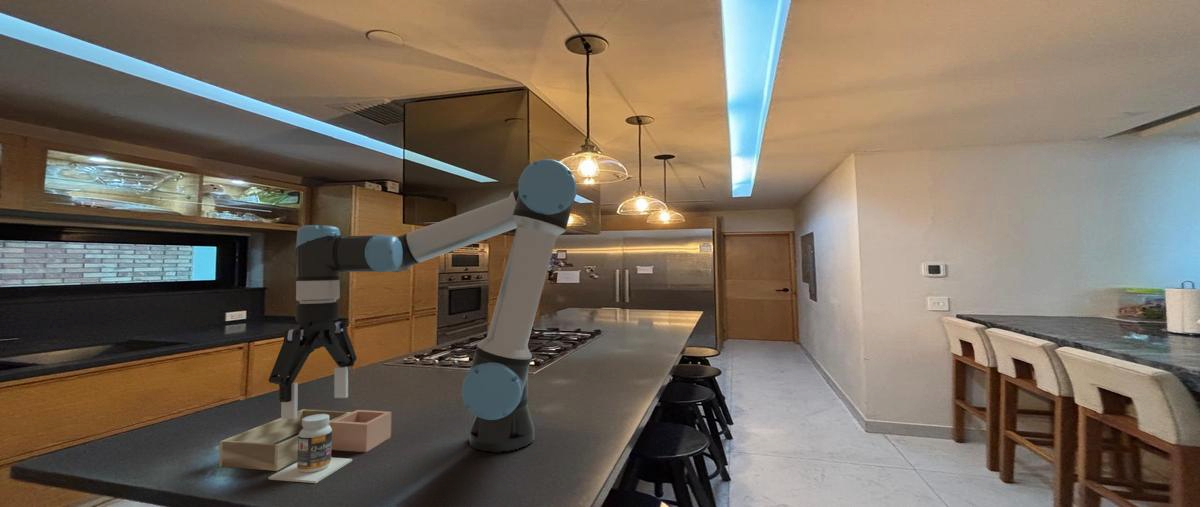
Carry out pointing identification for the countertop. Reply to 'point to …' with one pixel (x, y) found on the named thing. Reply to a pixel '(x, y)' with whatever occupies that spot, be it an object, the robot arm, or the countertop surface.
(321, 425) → the pill bottle
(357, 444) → the pink open box
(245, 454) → the oak crate
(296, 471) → the square cream tile
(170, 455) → the countertop surface
